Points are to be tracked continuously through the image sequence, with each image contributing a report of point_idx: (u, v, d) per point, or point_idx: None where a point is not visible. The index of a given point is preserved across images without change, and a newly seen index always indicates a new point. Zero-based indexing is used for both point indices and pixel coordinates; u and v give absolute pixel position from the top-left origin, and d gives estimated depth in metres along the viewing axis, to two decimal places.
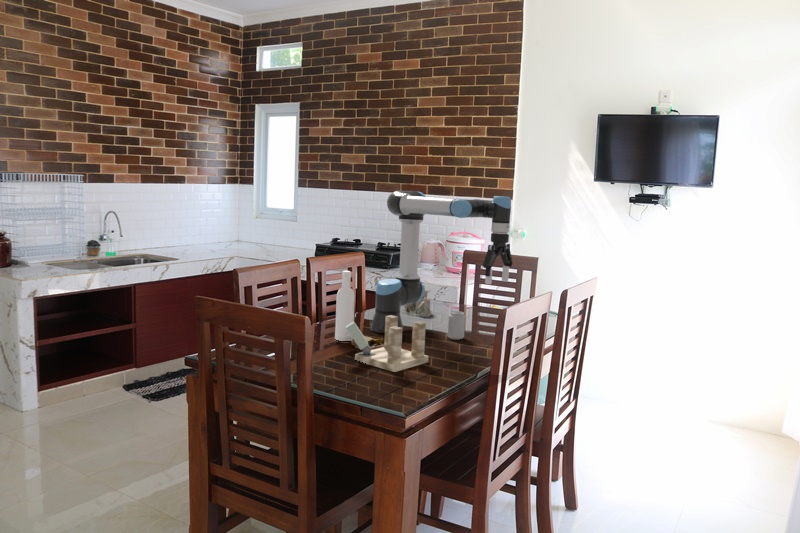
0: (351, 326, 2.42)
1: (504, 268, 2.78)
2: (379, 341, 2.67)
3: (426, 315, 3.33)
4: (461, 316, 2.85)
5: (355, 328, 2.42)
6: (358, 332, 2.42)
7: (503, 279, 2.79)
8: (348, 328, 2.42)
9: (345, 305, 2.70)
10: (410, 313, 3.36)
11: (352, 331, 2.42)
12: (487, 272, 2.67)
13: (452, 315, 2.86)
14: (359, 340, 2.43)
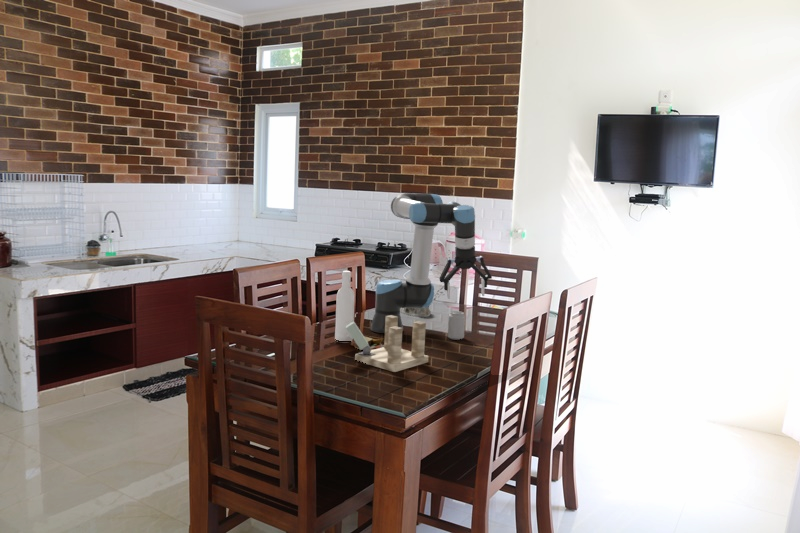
0: (351, 326, 2.42)
1: (481, 281, 2.52)
2: (379, 341, 2.67)
3: (425, 315, 3.33)
4: (461, 316, 2.85)
5: (355, 328, 2.42)
6: (358, 332, 2.42)
7: (481, 292, 2.53)
8: (348, 328, 2.42)
9: (345, 305, 2.70)
10: (409, 313, 3.36)
11: (352, 331, 2.42)
12: (444, 286, 2.51)
13: (452, 315, 2.86)
14: (359, 340, 2.43)
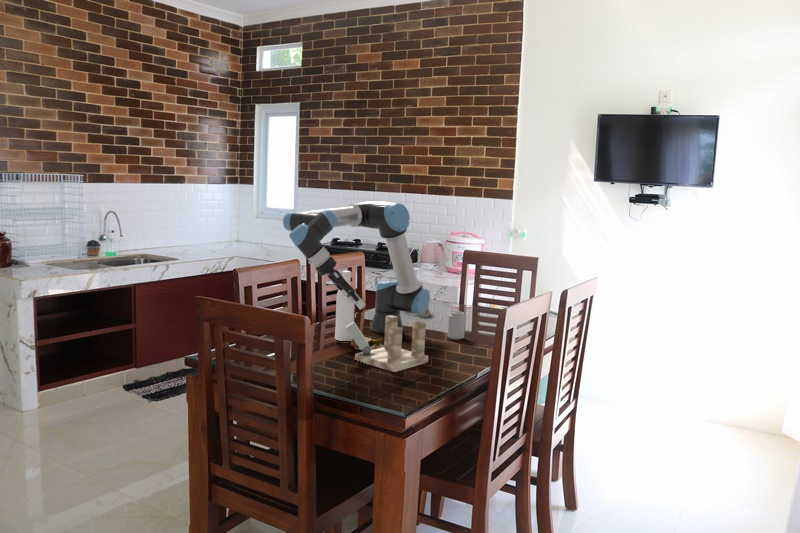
0: (351, 326, 2.42)
1: None
2: (378, 341, 2.66)
3: (425, 315, 3.33)
4: (461, 316, 2.85)
5: (355, 328, 2.42)
6: (358, 332, 2.42)
7: None
8: (348, 328, 2.42)
9: (345, 305, 2.70)
10: (409, 313, 3.35)
11: (352, 331, 2.42)
12: None
13: (452, 315, 2.86)
14: (359, 340, 2.43)
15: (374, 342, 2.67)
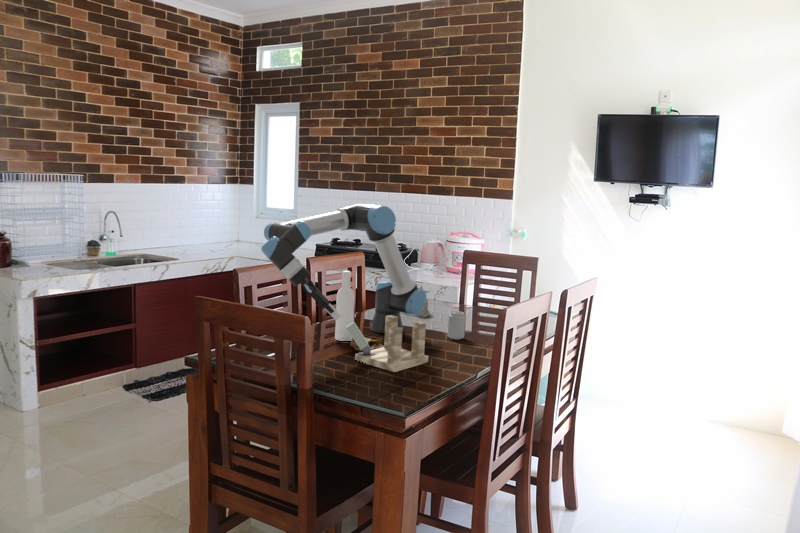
0: (351, 326, 2.42)
1: None
2: (378, 342, 2.66)
3: (424, 315, 3.33)
4: (461, 316, 2.85)
5: (355, 328, 2.42)
6: (358, 332, 2.42)
7: None
8: (348, 328, 2.42)
9: (345, 305, 2.70)
10: None
11: (352, 331, 2.42)
12: None
13: (452, 315, 2.86)
14: (359, 340, 2.43)
15: (374, 342, 2.66)
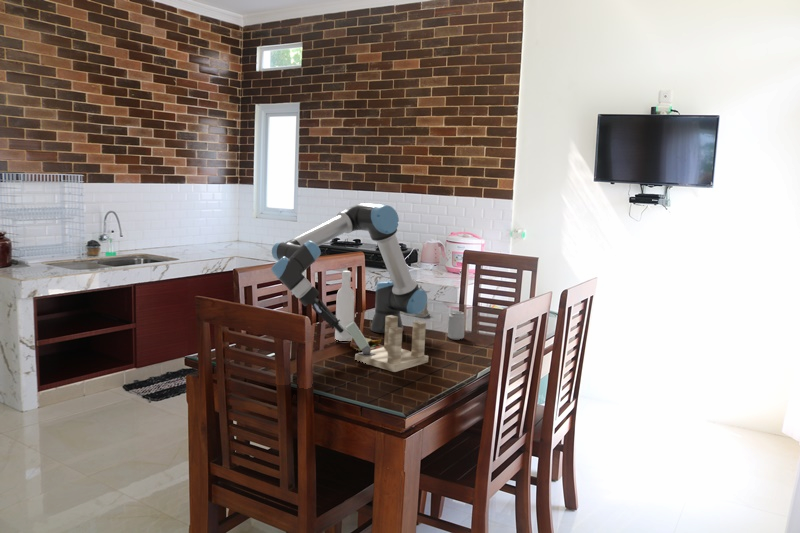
0: (351, 326, 2.42)
1: None
2: (377, 342, 2.65)
3: (423, 315, 3.33)
4: (461, 316, 2.85)
5: (355, 328, 2.42)
6: (358, 332, 2.42)
7: None
8: (348, 328, 2.42)
9: (345, 305, 2.70)
10: (407, 313, 3.35)
11: (352, 331, 2.42)
12: None
13: (452, 315, 2.86)
14: (359, 340, 2.43)
15: (373, 343, 2.66)
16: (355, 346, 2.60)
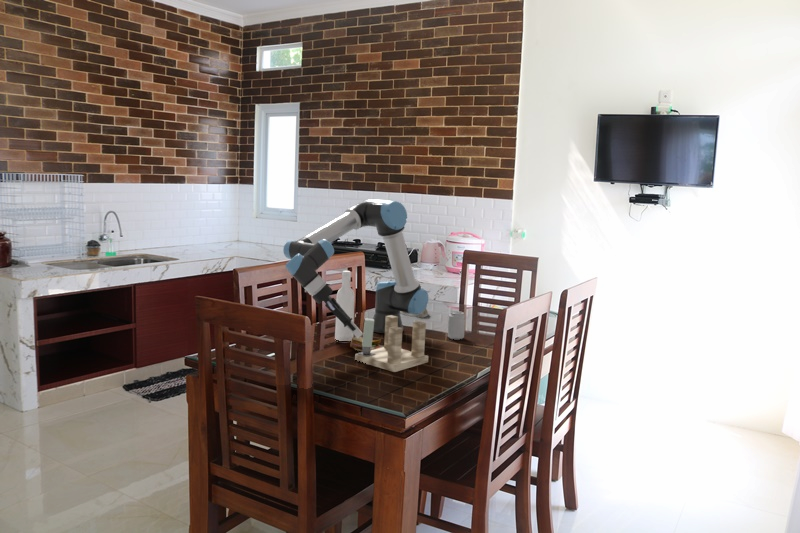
0: (370, 322, 2.42)
1: None
2: (377, 342, 2.65)
3: (423, 315, 3.32)
4: (461, 316, 2.85)
5: (372, 326, 2.42)
6: (371, 331, 2.43)
7: None
8: (366, 322, 2.42)
9: (345, 305, 2.70)
10: (407, 313, 3.35)
11: (367, 326, 2.42)
12: None
13: (452, 315, 2.86)
14: (367, 338, 2.43)
15: (373, 343, 2.66)
16: (355, 346, 2.60)
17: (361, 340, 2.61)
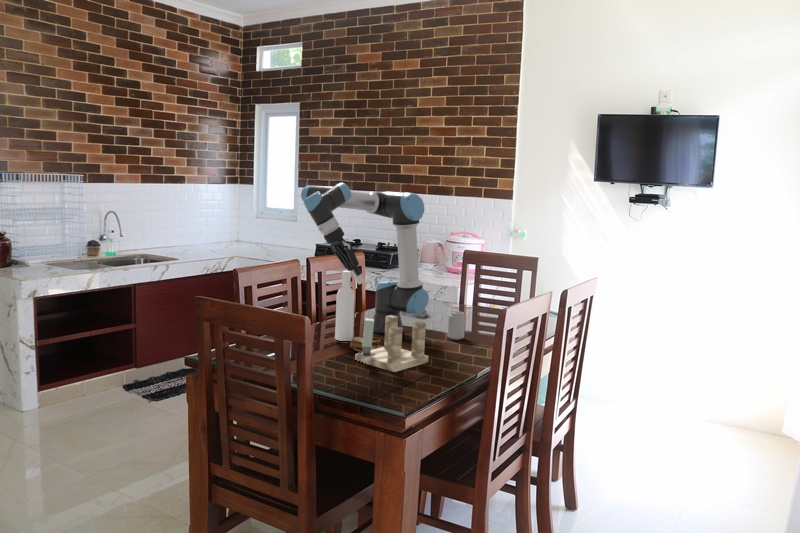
0: (370, 322, 2.42)
1: None
2: (377, 343, 2.64)
3: (422, 315, 3.32)
4: (461, 316, 2.85)
5: (372, 326, 2.42)
6: (371, 331, 2.43)
7: None
8: (366, 322, 2.42)
9: (345, 305, 2.70)
10: (405, 313, 3.35)
11: (367, 326, 2.42)
12: None
13: (452, 315, 2.86)
14: (367, 338, 2.43)
15: (372, 343, 2.65)
16: (355, 347, 2.59)
17: (361, 341, 2.60)
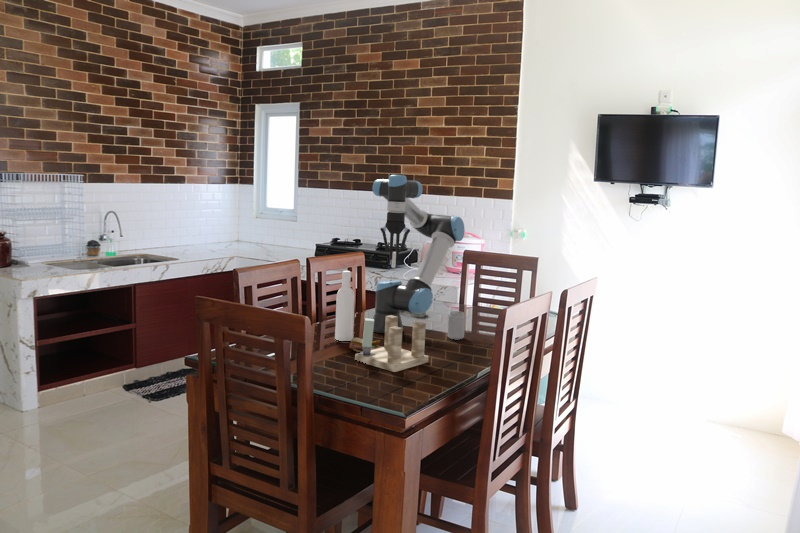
0: (370, 322, 2.42)
1: None
2: (376, 343, 2.64)
3: (420, 315, 3.32)
4: (461, 316, 2.85)
5: (372, 326, 2.42)
6: (371, 331, 2.43)
7: None
8: (366, 322, 2.42)
9: (345, 305, 2.70)
10: (404, 313, 3.34)
11: (367, 326, 2.42)
12: (389, 255, 2.72)
13: (452, 315, 2.86)
14: (367, 338, 2.43)
15: (372, 344, 2.64)
16: (355, 348, 2.58)
17: (361, 341, 2.59)
